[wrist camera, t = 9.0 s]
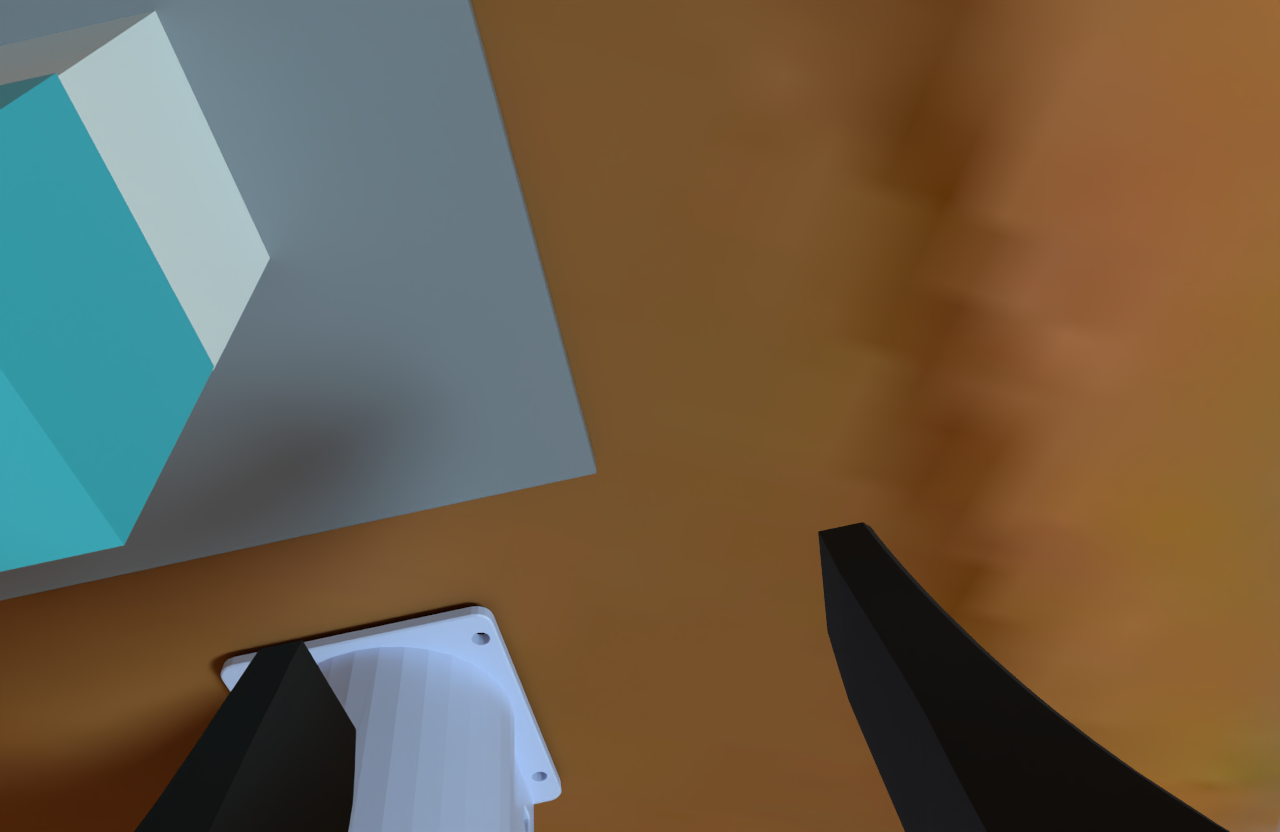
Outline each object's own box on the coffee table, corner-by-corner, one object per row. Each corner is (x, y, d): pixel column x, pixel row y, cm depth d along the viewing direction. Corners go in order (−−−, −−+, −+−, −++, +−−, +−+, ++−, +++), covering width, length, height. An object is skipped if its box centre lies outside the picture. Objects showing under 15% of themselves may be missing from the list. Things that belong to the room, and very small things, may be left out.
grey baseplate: (595, 461, 24) (596, 472, 24) (6, 587, 25) (-3, 601, 24) (391, -295, 15) (387, -297, 15) (-554, -80, 15) (-583, -75, 15)
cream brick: (269, 257, 20) (213, 370, 16) (41, 308, 20) (-66, 431, 16) (155, 10, 17) (54, 78, 13) (-112, 71, 17) (-287, 156, 13)
